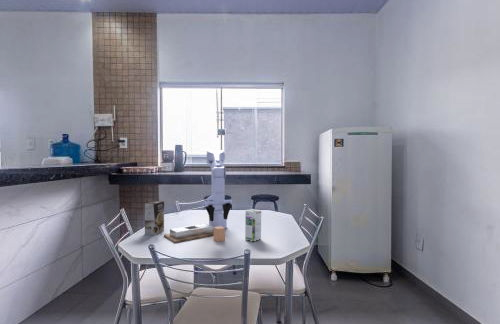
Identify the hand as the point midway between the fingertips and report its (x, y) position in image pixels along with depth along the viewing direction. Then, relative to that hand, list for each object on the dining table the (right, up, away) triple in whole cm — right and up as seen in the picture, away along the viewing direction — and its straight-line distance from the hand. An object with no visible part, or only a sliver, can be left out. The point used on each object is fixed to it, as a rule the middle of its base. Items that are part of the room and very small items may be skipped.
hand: (218, 220), depth 134 cm
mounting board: (-14, -9, +8) cm, 19 cm away
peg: (0, -10, 0) cm, 10 cm away
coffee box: (-35, -10, +13) cm, 39 cm away
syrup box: (+17, -10, 0) cm, 19 cm away
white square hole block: (-14, -9, +8) cm, 19 cm away
